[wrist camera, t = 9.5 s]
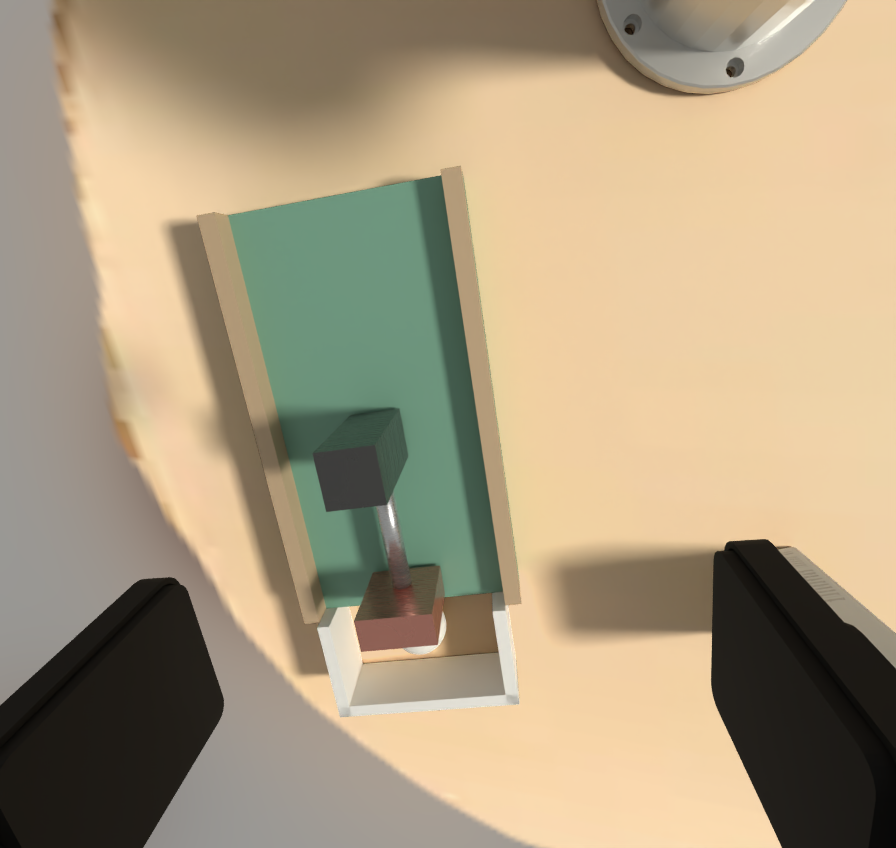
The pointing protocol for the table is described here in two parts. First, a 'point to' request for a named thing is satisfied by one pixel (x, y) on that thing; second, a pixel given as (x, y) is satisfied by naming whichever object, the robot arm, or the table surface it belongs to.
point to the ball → (429, 648)
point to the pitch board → (369, 378)
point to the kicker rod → (372, 484)
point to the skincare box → (844, 604)
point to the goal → (417, 672)
